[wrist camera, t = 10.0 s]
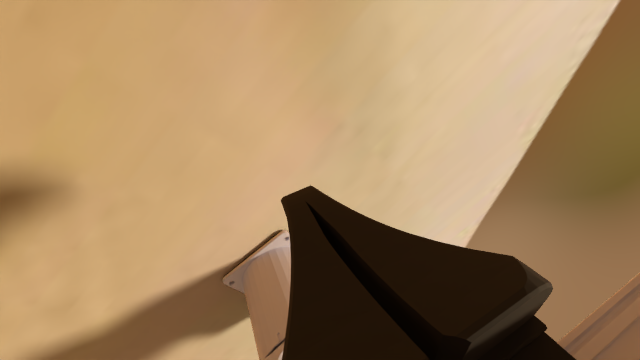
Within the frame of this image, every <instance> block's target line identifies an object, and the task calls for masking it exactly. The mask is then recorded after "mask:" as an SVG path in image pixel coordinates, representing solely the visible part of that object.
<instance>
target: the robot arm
mask: <svg viewBox="0 0 640 360" xmlns="http://www.w3.org/2000/svg"><path fill="white" fill-rule="evenodd" d="M281 202H282V205H283V208H284V211H285V214H286V216H287V221H288V228H289V232H287V231H286V230H283V231H281V232H280V233H278V234H277V235H276V236H275V237H273V238H272V239H271V240H270V241H268V242H267V243H266V244H265V245H263V246H262V247H261V248H260V249H258V250H257V251H256V252H255V253H253V254H252V255H251V256H250V257H248V258H247V259H246V260H245V261H243V262H242V263H241V264H240V265H238V266H237V267H236V268H235V269H233V270H232V271H231V272H230V273H228V274H227V275H226V276H225V277H224V278H223V284H225V285H227V286H229V287H231V288H233V289H235V290H238V291H240V292H242V293H244V294H245V297H246V301H247V306H248V310H249V315H250V319H251V324H252V328H253V333H254V337H255V342H256V346H257V351H258V355H259V360H640V272H639V273H638V274H637V275H636V276H635V277H633V279H631V280H630V281H629V282H627V283H626V284H625V285H624V286H623V287H622V288H621V289H619V290H618V291H617V292H616V293H615V294H614V295H613V296H611V297H610V298H609V299H608V300H607V301H605V302H604V303H603V304H602V305H601V306H599V307H598V308H597V309H596V310H595V311H593V312H592V313H591V314H590V315H589V316H587V317H586V318H585V319H584V320H583V321H582V322H580V323H579V324H578V325H577V326H576V327H574V328H573V329H572V330H571V331H570V332H568V333H567V334H566V335H565V336H564V337H563V338H561V339H560V340H559V341H558V342H555V341H554V340H553V339H552V338H551V337H549V336H548V335H547V334H546V333H545V332H544V331H546V329H547V327H546V325H545V324H544V323H543V322H541V321H540V320H539V319H538V318H537V317H535V316H534V315H535V313H536V312H537V311H538V310H539V308H540V307H541V306H542V304H543V303H544V302H545V301H546V299H547V298H548V297H549V295H550V294H551V292H552V289H553V288H552V284H551V283H550V282H549V281H548V280H546V279H545V278H543V277H542V276H541V275H539V274H538V273H537V272H535V271H534V270H532V269H531V268H530V267H528V266H527V265H525V264H524V263H522V262H521V261H519V260H518V259H516V258H515V257H513V256H508V255H503V254H497V253H491V252H485V251H479V250H473V249H468V248H464V247H459V246H455V245H450V244H446V243H442V242H438V241H434V240H431V239H427V238H424V237H420V236H417V235H413V234H410V233H407V232H404V231H401V230H398V229H395V228H393V227H390V226H387V225H385V224H382V223H380V222H377V221H375V220H373V219H371V218H368V217H366V216H364V215H362V214H360V213H358V212H356V211H354V210H352V209H350V208H348V207H346V206H345V205H343V204H341V203H339V202H337V201H335V200H334V199H332V198H330V197H329V196H327V195H325V194H324V193H322V192H321V191H319V190H318V189H316V188H315V187H313V186H308V187H306V188H304V189H301V190H299V191H296V192H294V193H292V194H289V195H287V196H285V197H283V198H282V200H281ZM286 237H287V238H286ZM231 281H232V282H231Z"/></svg>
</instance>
